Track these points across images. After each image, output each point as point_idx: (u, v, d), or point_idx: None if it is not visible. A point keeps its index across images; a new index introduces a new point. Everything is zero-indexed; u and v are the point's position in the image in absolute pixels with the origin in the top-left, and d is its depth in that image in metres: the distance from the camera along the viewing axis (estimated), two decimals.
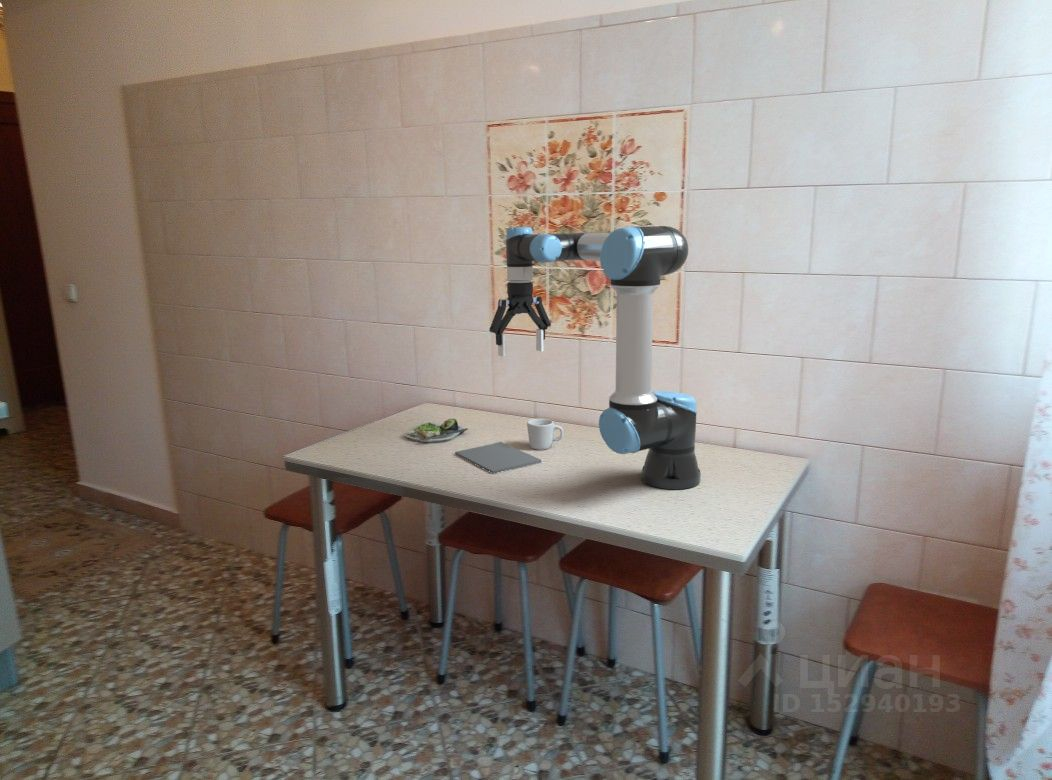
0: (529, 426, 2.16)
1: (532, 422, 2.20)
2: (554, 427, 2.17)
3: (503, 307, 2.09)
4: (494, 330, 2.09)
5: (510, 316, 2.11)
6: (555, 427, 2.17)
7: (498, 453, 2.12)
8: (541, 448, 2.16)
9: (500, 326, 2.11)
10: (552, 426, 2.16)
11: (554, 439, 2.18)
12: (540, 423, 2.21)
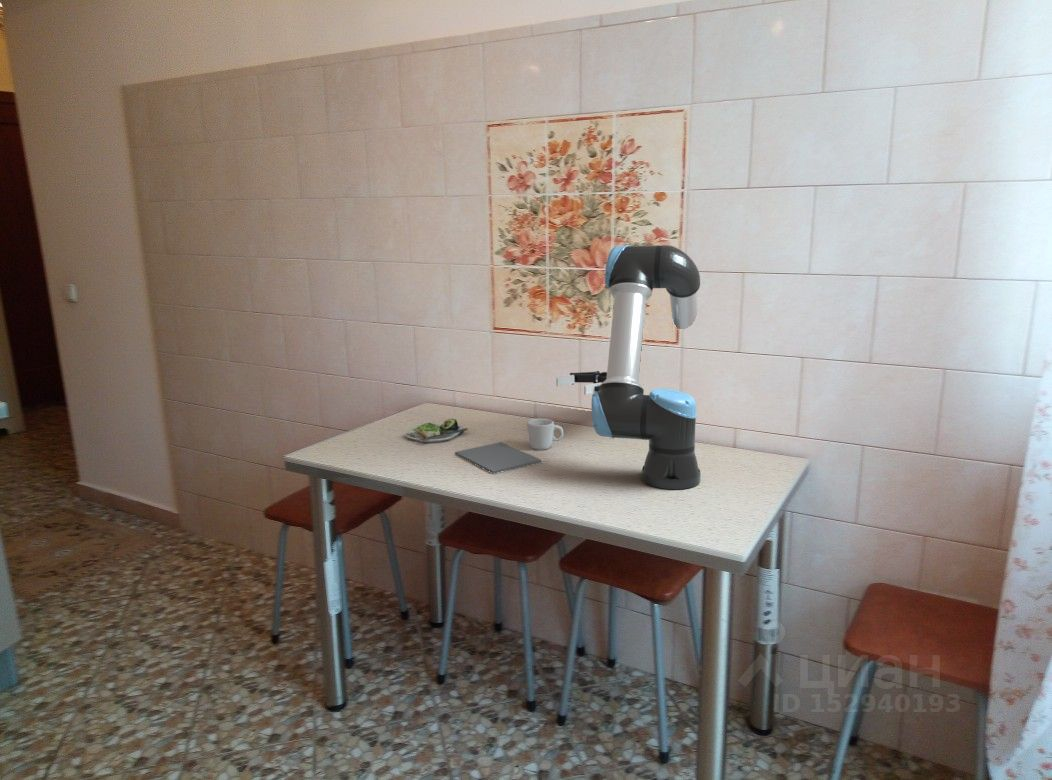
0: (529, 426, 2.16)
1: (532, 422, 2.20)
2: (554, 427, 2.17)
3: (593, 372, 2.34)
4: None
5: (591, 374, 2.30)
6: (555, 427, 2.17)
7: (498, 453, 2.12)
8: (541, 448, 2.16)
9: None
10: (552, 426, 2.16)
11: (554, 439, 2.18)
12: (540, 423, 2.21)
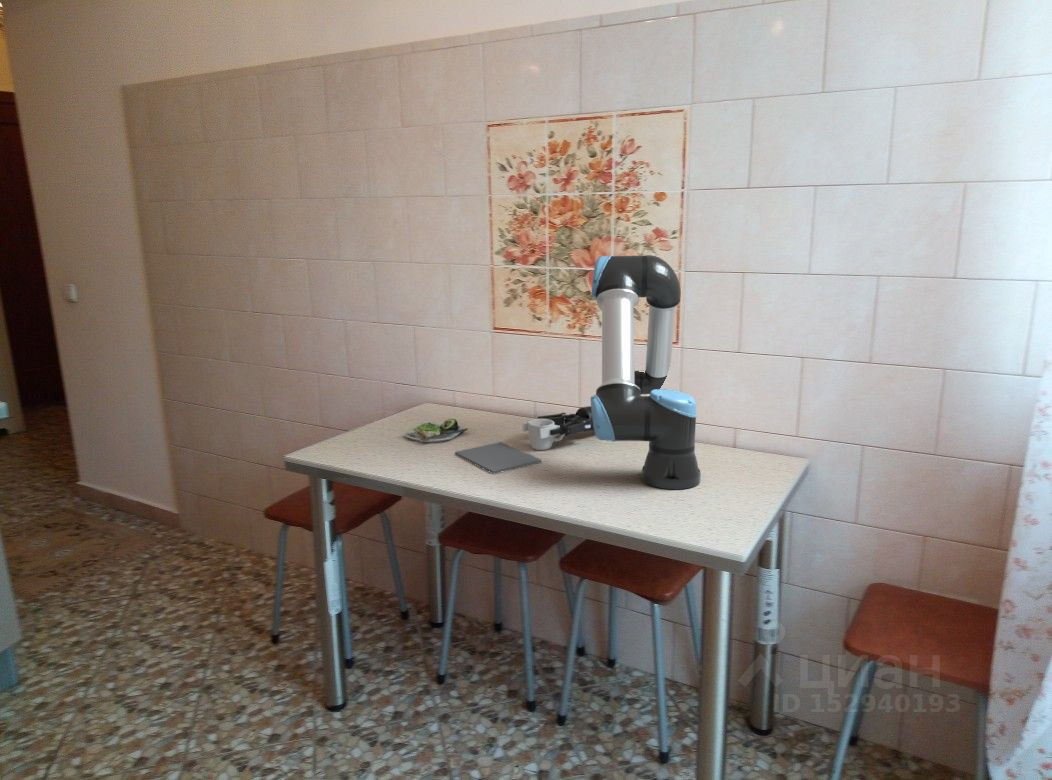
0: (530, 426, 2.15)
1: (532, 422, 2.19)
2: None
3: (559, 414, 2.29)
4: None
5: (558, 417, 2.25)
6: None
7: (498, 453, 2.12)
8: (542, 448, 2.16)
9: None
10: None
11: (555, 439, 2.18)
12: (540, 423, 2.21)
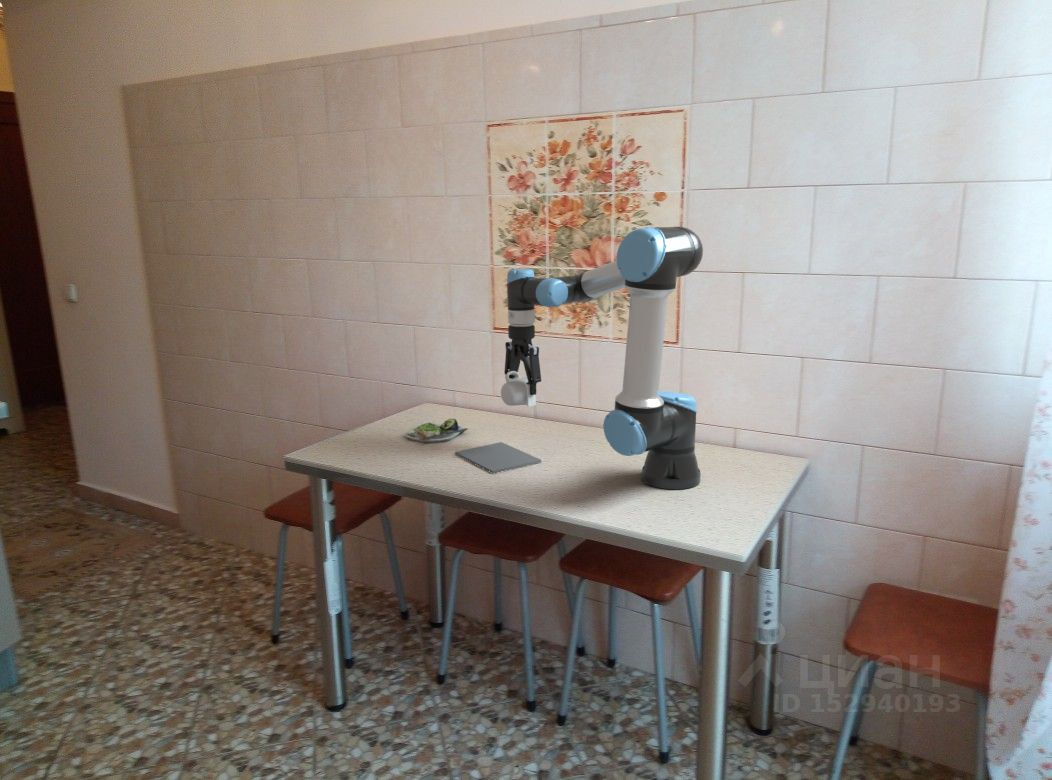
0: None
1: None
2: None
3: None
4: (540, 379, 2.05)
5: None
6: None
7: (498, 453, 2.12)
8: None
9: None
10: None
11: None
12: None
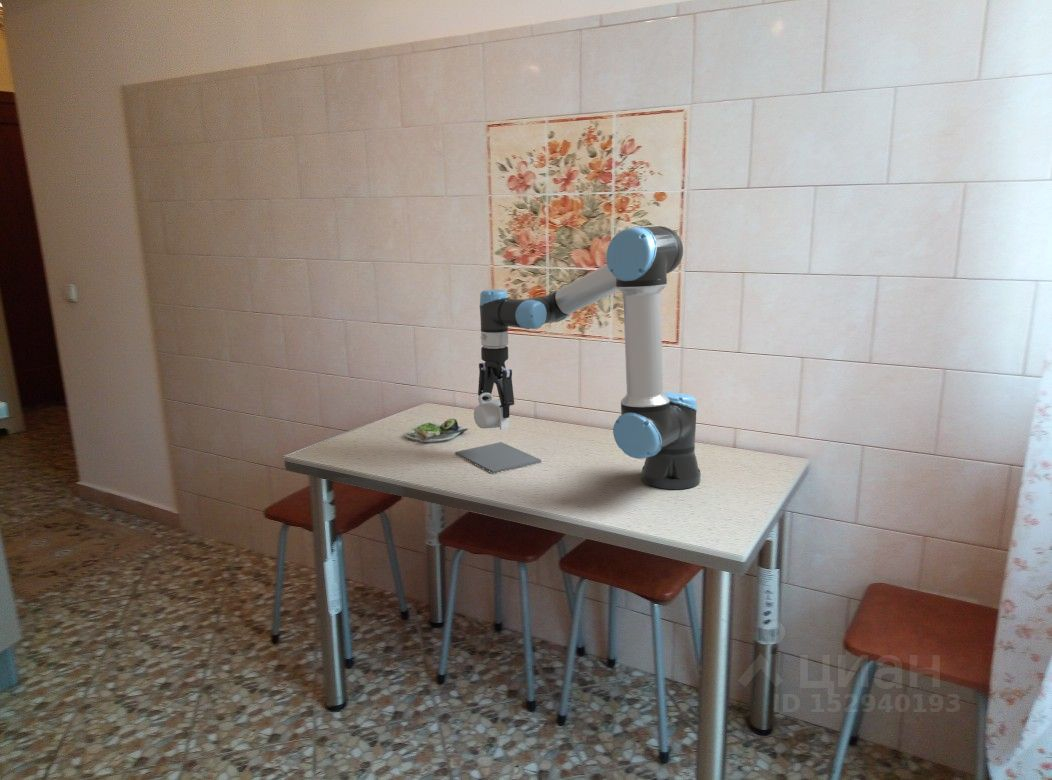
0: None
1: None
2: None
3: None
4: (513, 402, 2.01)
5: None
6: None
7: (498, 453, 2.12)
8: None
9: None
10: None
11: None
12: None
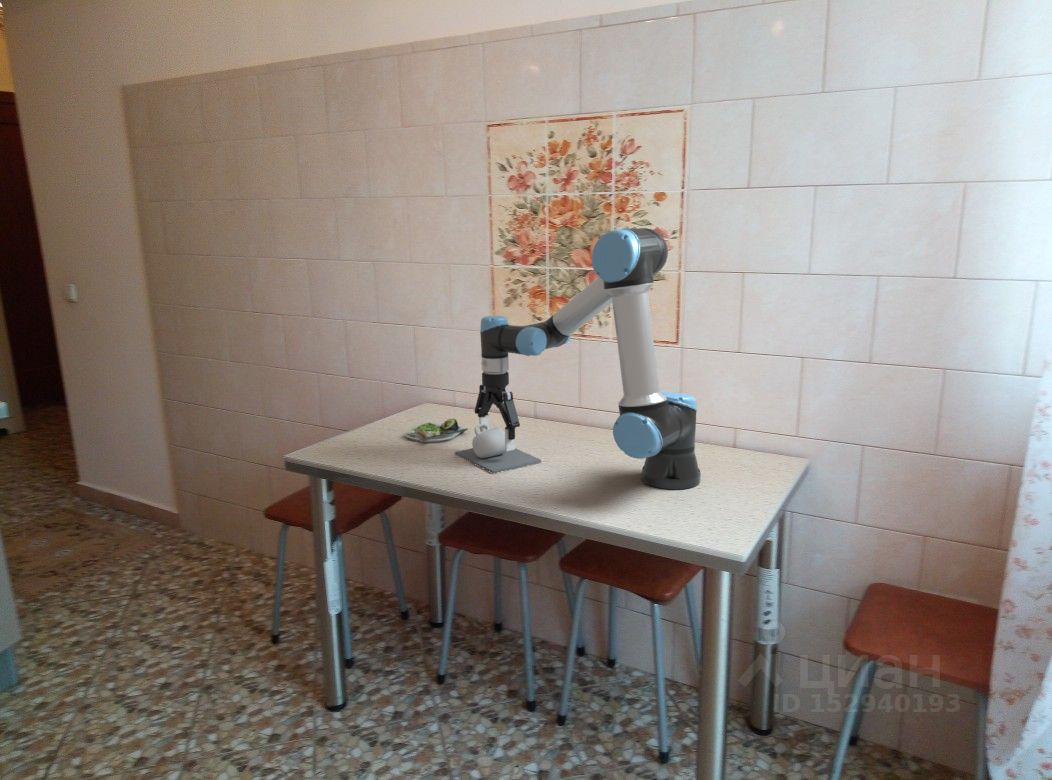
0: None
1: None
2: None
3: None
4: None
5: None
6: None
7: None
8: None
9: None
10: None
11: None
12: None
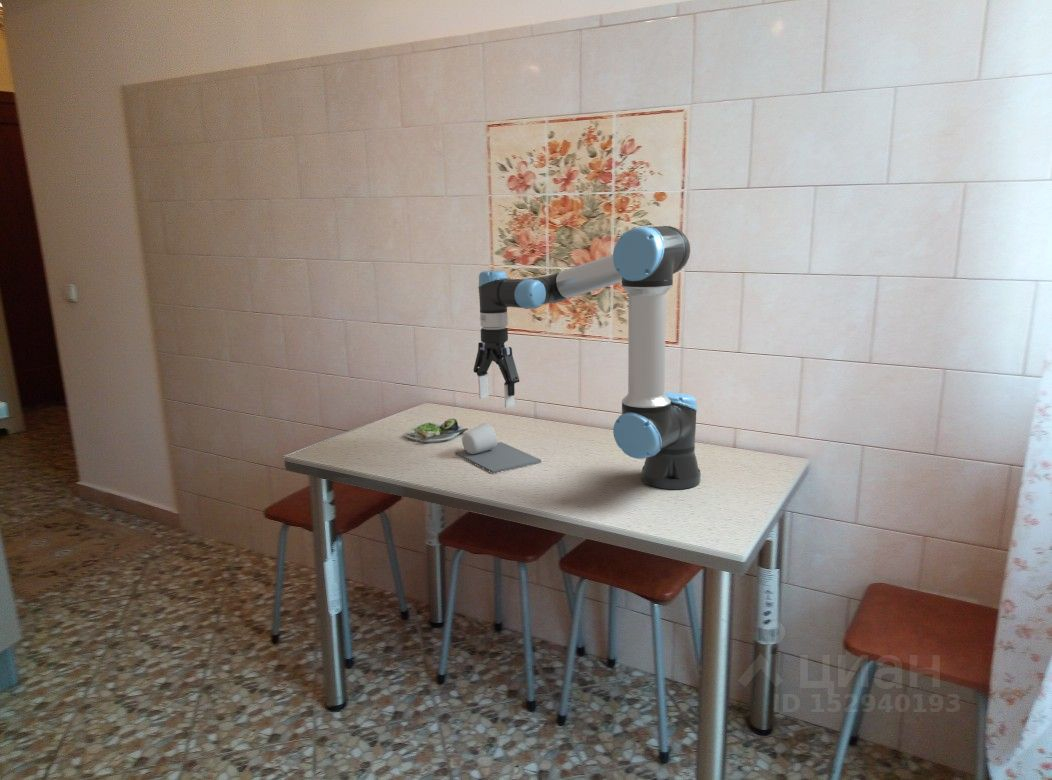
0: (495, 441, 2.12)
1: None
2: None
3: None
4: (518, 379, 1.97)
5: None
6: None
7: (498, 453, 2.12)
8: (472, 453, 2.11)
9: None
10: None
11: None
12: None
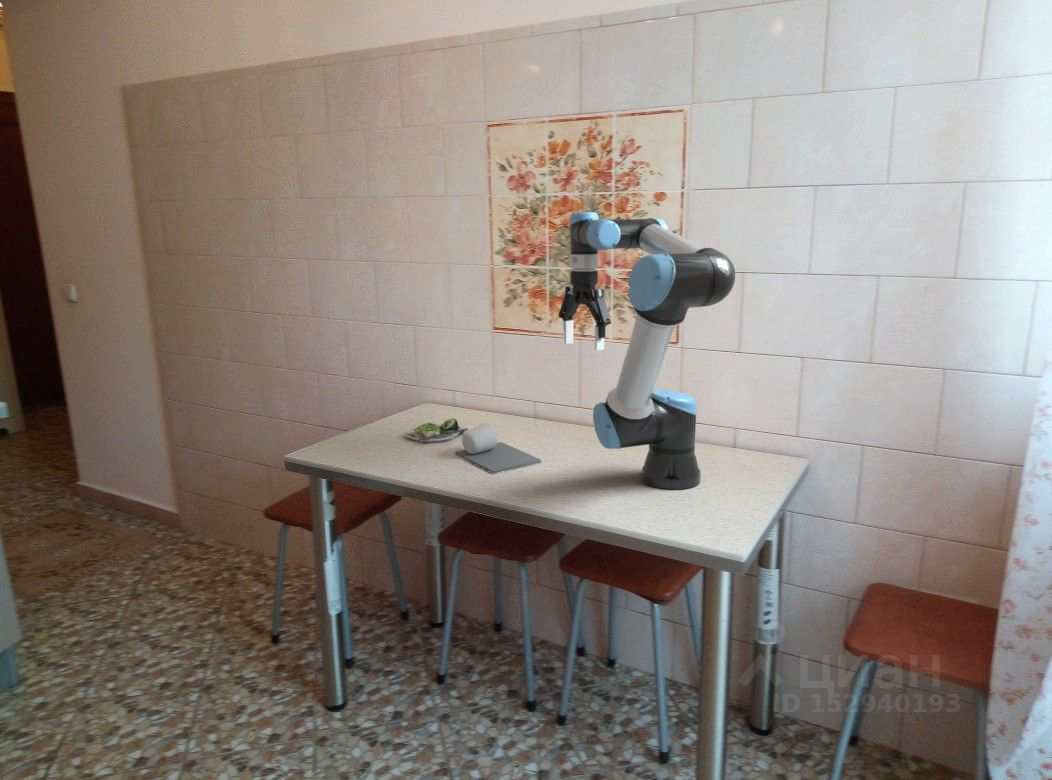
0: (495, 441, 2.12)
1: None
2: None
3: None
4: (610, 321, 1.96)
5: None
6: None
7: (498, 453, 2.12)
8: (472, 453, 2.11)
9: None
10: None
11: None
12: None
